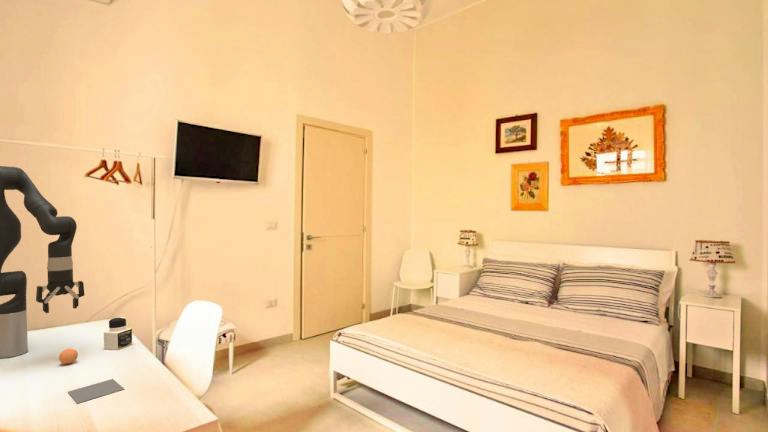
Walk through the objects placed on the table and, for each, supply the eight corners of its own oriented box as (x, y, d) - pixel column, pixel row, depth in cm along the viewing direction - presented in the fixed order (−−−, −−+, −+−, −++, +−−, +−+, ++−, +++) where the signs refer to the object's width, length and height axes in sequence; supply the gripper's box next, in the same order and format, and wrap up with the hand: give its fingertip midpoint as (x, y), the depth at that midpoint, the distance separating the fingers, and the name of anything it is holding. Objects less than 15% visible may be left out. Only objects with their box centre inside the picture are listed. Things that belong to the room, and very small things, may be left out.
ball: (55, 365, 146) (55, 350, 146) (72, 359, 151) (72, 345, 151) (64, 367, 144) (63, 352, 144) (81, 361, 149) (80, 347, 149)
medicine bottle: (118, 350, 161) (117, 320, 161) (103, 349, 163) (102, 320, 163) (132, 344, 168) (131, 316, 168) (118, 343, 170) (117, 315, 170)
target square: (67, 392, 123) (67, 391, 123) (112, 379, 132) (112, 378, 132) (77, 403, 116) (77, 403, 116) (124, 389, 125) (124, 388, 125)
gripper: (38, 271, 144) (39, 316, 144) (86, 267, 155) (86, 308, 155) (33, 269, 148) (34, 312, 148) (79, 265, 159) (80, 305, 160)
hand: (61, 310), depth 152 cm, fingers open, 8 cm apart
